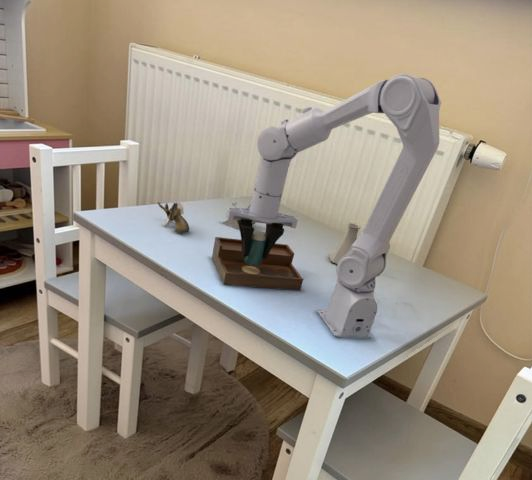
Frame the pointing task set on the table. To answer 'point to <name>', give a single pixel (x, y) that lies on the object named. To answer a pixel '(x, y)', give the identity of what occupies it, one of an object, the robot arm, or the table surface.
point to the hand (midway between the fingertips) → (254, 255)
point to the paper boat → (234, 222)
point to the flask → (345, 243)
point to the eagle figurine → (176, 217)
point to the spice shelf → (265, 275)
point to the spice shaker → (256, 248)
